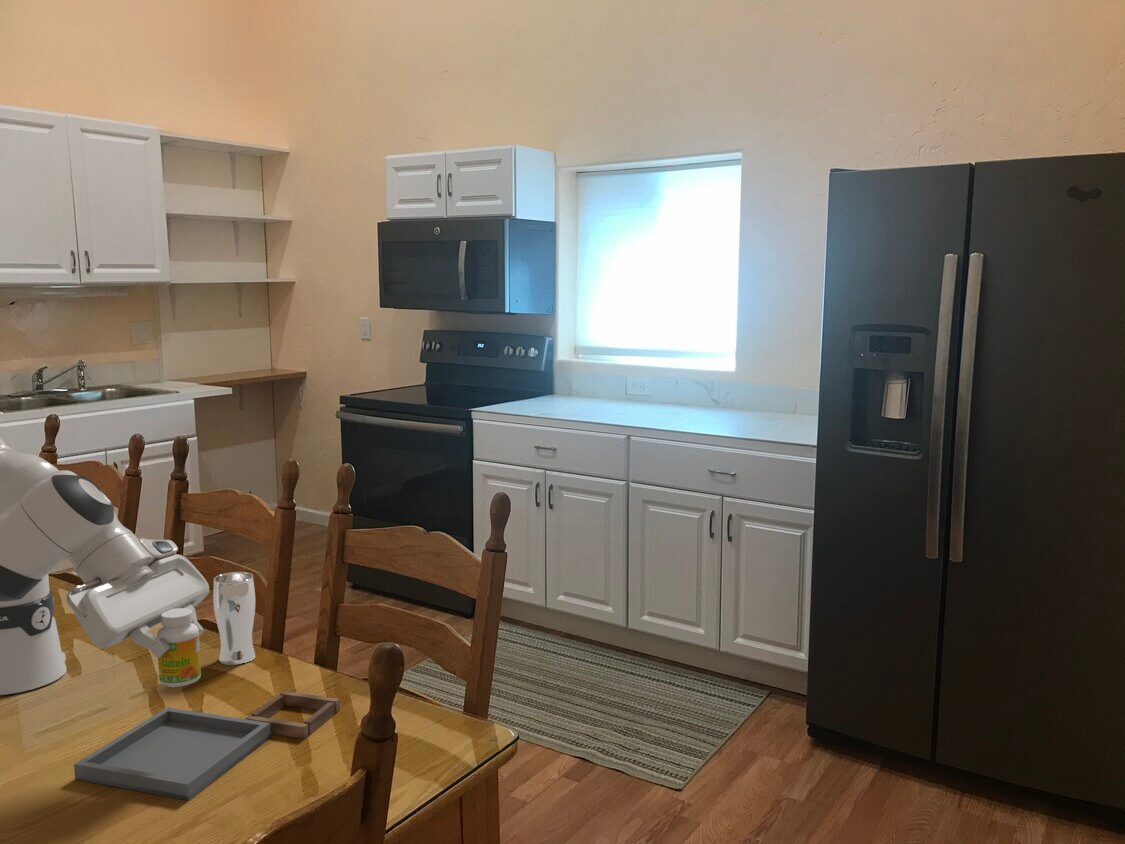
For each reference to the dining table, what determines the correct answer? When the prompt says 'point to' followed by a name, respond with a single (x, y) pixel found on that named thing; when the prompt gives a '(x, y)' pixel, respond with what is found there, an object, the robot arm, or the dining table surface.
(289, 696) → the frame
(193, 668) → the supplement bottle
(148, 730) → the grey tray
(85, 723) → the dining table surface
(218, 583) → the beer glass
